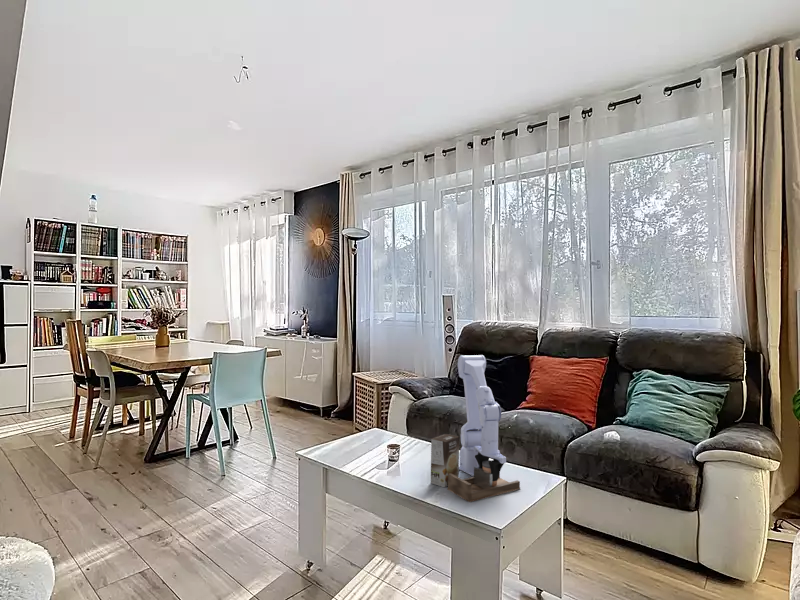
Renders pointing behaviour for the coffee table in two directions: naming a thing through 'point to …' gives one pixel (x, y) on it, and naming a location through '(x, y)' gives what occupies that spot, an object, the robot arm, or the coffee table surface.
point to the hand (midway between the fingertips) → (489, 477)
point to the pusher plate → (482, 478)
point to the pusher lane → (478, 488)
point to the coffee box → (444, 458)
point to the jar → (487, 468)
